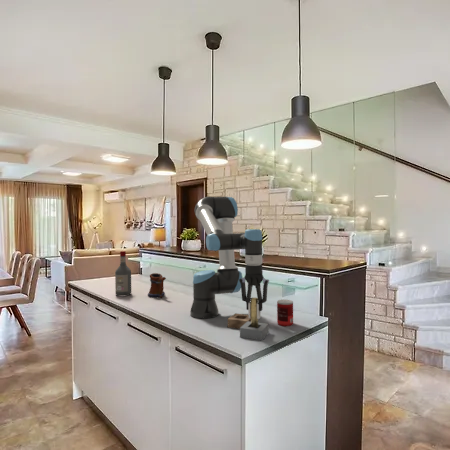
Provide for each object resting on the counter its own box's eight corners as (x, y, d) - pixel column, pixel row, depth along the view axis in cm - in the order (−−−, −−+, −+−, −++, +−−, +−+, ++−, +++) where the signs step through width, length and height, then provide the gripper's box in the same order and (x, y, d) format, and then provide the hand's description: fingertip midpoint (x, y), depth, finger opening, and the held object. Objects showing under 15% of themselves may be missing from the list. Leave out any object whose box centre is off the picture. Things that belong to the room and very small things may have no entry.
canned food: (291, 321, 162) (290, 299, 162) (295, 326, 154) (294, 303, 154) (275, 321, 162) (275, 299, 162) (279, 326, 154) (278, 303, 154)
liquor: (126, 296, 221) (126, 252, 221) (114, 295, 223) (113, 252, 222) (132, 293, 230) (131, 250, 230) (120, 292, 232) (119, 250, 231)
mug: (172, 297, 215) (172, 275, 215) (156, 300, 208) (156, 277, 208) (160, 293, 229) (160, 272, 229) (144, 295, 222) (144, 273, 222)
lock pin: (250, 330, 142) (249, 298, 142) (252, 328, 145) (251, 297, 145) (257, 331, 141) (256, 299, 141) (259, 329, 144) (258, 297, 144)
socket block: (239, 337, 141) (239, 327, 141) (247, 329, 150) (247, 321, 150) (262, 340, 137) (262, 330, 137) (268, 332, 146) (268, 323, 146)
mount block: (227, 327, 154) (227, 318, 154) (235, 321, 163) (235, 313, 163) (247, 329, 150) (247, 321, 150) (254, 323, 159) (254, 315, 159)
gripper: (233, 264, 143) (234, 318, 143) (269, 266, 136) (270, 322, 136) (239, 262, 150) (240, 313, 150) (274, 264, 143) (274, 317, 143)
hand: (254, 317), depth 143 cm, fingers closed on lock pin, 3 cm apart
